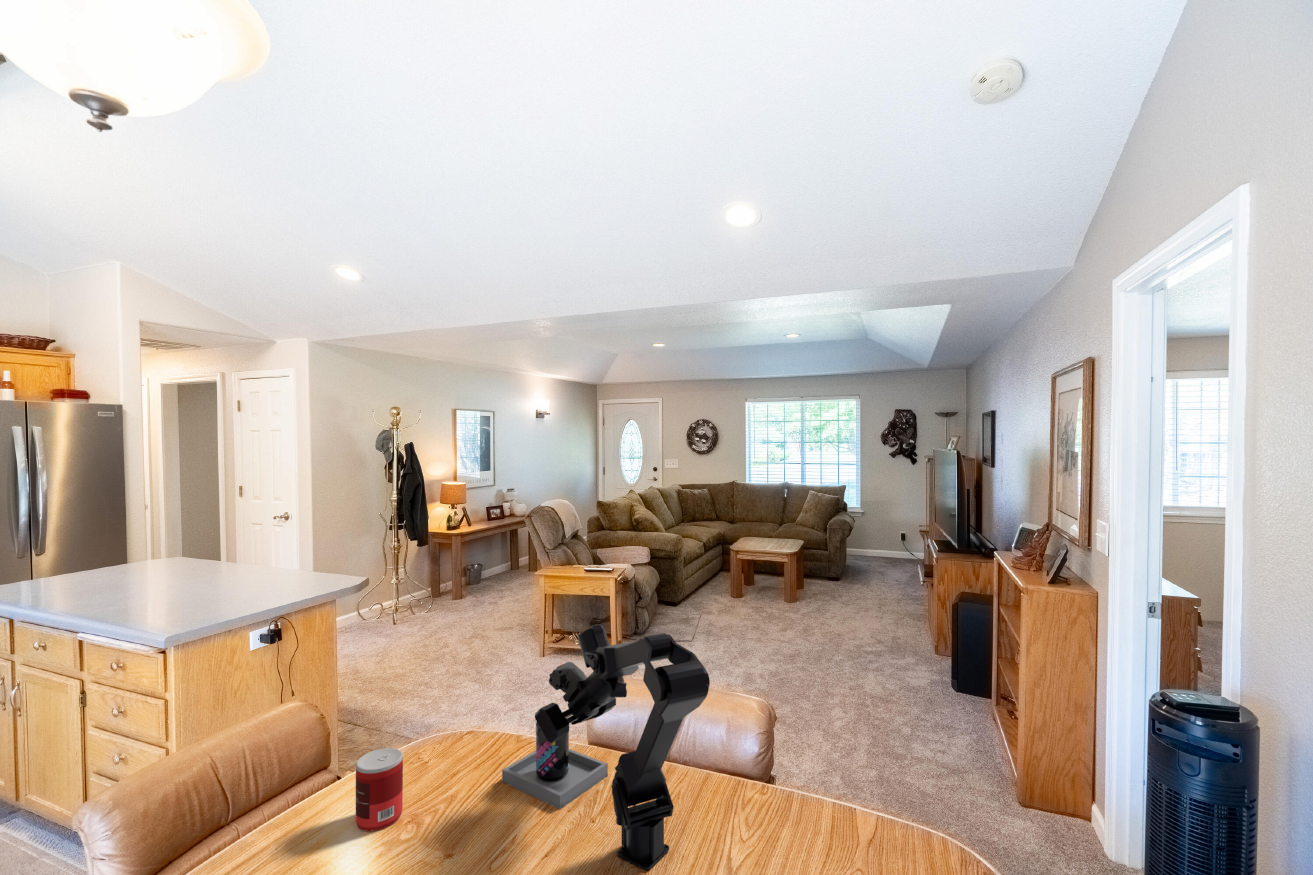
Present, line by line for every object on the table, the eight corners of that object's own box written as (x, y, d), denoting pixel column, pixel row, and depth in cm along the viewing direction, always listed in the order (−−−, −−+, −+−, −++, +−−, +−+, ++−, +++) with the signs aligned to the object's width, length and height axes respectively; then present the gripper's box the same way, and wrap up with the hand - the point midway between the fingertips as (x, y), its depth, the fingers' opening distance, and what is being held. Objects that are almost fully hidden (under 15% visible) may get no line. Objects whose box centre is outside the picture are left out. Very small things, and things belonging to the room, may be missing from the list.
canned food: (410, 806, 115) (410, 748, 115) (387, 833, 107) (388, 770, 107) (371, 804, 116) (372, 746, 116) (346, 831, 108) (346, 768, 108)
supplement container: (532, 768, 127) (532, 718, 127) (564, 762, 130) (564, 713, 130) (539, 785, 121) (539, 732, 121) (572, 778, 124) (572, 726, 124)
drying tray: (607, 775, 126) (607, 763, 126) (560, 809, 115) (560, 795, 115) (551, 753, 135) (551, 741, 135) (502, 781, 124) (502, 769, 124)
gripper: (605, 641, 130) (566, 682, 136) (541, 667, 114) (501, 712, 120) (635, 686, 125) (593, 727, 131) (573, 720, 110) (529, 764, 116)
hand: (555, 730), depth 125 cm, fingers open, 9 cm apart
